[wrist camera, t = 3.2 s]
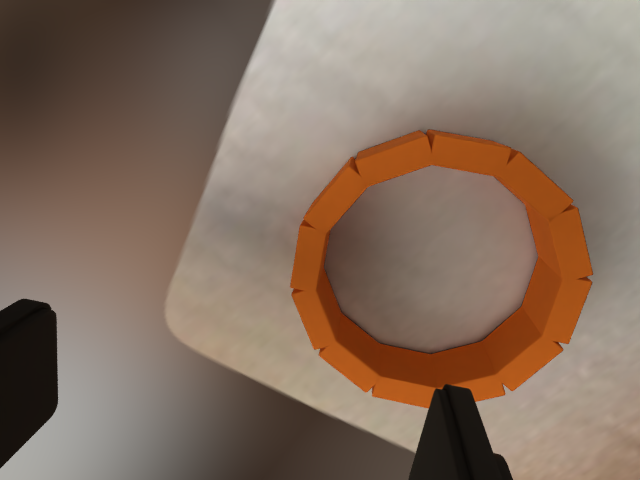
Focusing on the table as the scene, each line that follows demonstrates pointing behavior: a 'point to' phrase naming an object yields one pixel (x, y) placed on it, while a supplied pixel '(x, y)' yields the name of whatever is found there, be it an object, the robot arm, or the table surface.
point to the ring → (506, 340)
